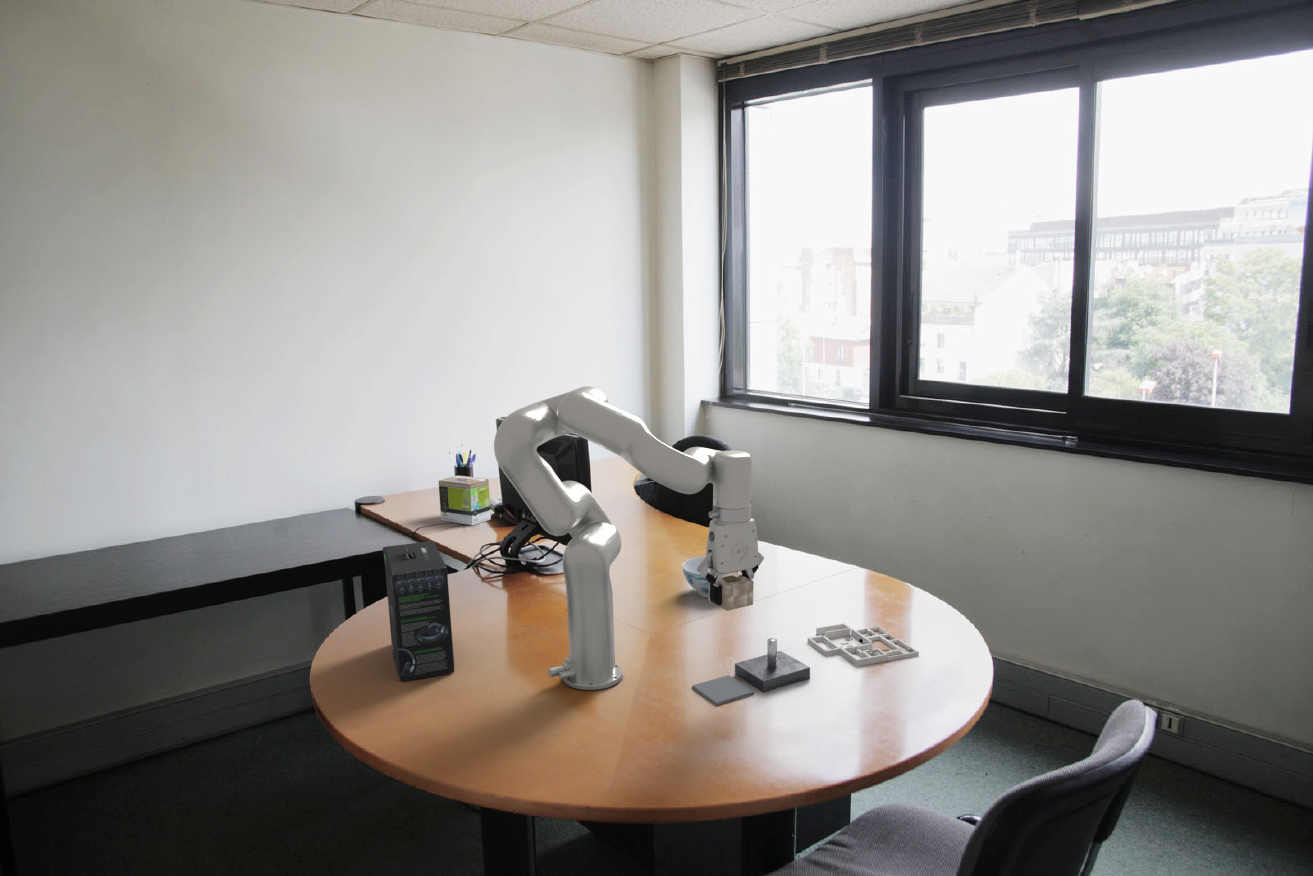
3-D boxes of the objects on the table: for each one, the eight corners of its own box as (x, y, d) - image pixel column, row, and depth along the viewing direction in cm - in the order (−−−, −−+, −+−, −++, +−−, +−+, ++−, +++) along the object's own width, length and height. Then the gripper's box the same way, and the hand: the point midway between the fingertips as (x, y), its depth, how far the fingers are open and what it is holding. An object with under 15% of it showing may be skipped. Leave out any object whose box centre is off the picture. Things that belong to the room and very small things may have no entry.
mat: (716, 705, 179) (716, 702, 179) (692, 688, 187) (692, 685, 187) (753, 694, 184) (753, 691, 184) (728, 677, 191) (728, 675, 191)
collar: (726, 611, 179) (727, 586, 178) (708, 600, 184) (708, 577, 183) (752, 604, 182) (753, 581, 181) (733, 595, 188) (734, 571, 187)
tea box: (492, 519, 319) (489, 478, 316) (471, 526, 310) (469, 484, 308) (460, 514, 327) (457, 474, 324) (440, 521, 318) (437, 479, 316)
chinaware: (747, 587, 245) (747, 560, 244) (727, 606, 232) (727, 577, 230) (695, 580, 251) (695, 553, 250) (673, 598, 238) (673, 570, 237)
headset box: (389, 644, 213) (381, 537, 208) (442, 635, 217) (434, 531, 212) (398, 683, 192) (389, 566, 188) (456, 673, 196) (448, 558, 192)
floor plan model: (777, 642, 210) (777, 634, 209) (871, 626, 218) (871, 618, 217) (818, 675, 192) (818, 666, 192) (918, 656, 200) (918, 648, 200)
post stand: (763, 692, 184) (763, 655, 183) (735, 674, 193) (734, 638, 191) (809, 678, 190) (810, 642, 189) (780, 661, 199) (780, 626, 197)
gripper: (706, 524, 172) (705, 614, 176) (778, 512, 181) (776, 597, 185) (684, 515, 179) (684, 602, 182) (755, 503, 187) (753, 586, 191)
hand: (730, 599), depth 183 cm, fingers closed on collar, 6 cm apart
